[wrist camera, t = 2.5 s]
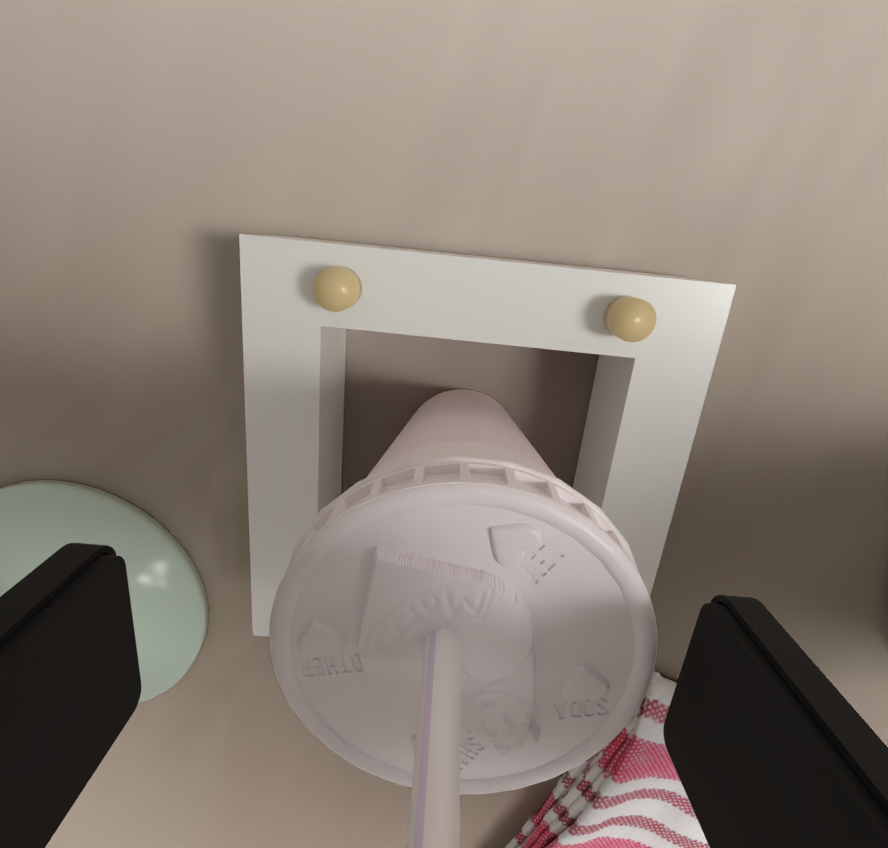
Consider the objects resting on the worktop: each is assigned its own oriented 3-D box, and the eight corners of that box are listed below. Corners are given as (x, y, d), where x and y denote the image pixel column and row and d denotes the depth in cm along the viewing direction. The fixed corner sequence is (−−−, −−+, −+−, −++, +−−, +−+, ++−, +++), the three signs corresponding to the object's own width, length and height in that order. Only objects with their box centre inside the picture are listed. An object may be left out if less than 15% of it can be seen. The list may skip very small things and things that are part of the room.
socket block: (682, 276, 15) (754, 287, 12) (602, 606, 19) (636, 694, 16) (282, 235, 15) (224, 233, 12) (285, 574, 19) (242, 654, 16)
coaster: (200, 494, 18) (192, 502, 18) (215, 706, 22) (208, 719, 21) (-79, 466, 18) (-97, 473, 18) (-22, 683, 22) (-35, 694, 21)
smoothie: (497, 309, 16) (672, 633, 3) (590, 472, 18) (974, 1159, 4) (329, 411, 17) (-108, 969, 4) (431, 553, 19) (361, 1275, 6)
